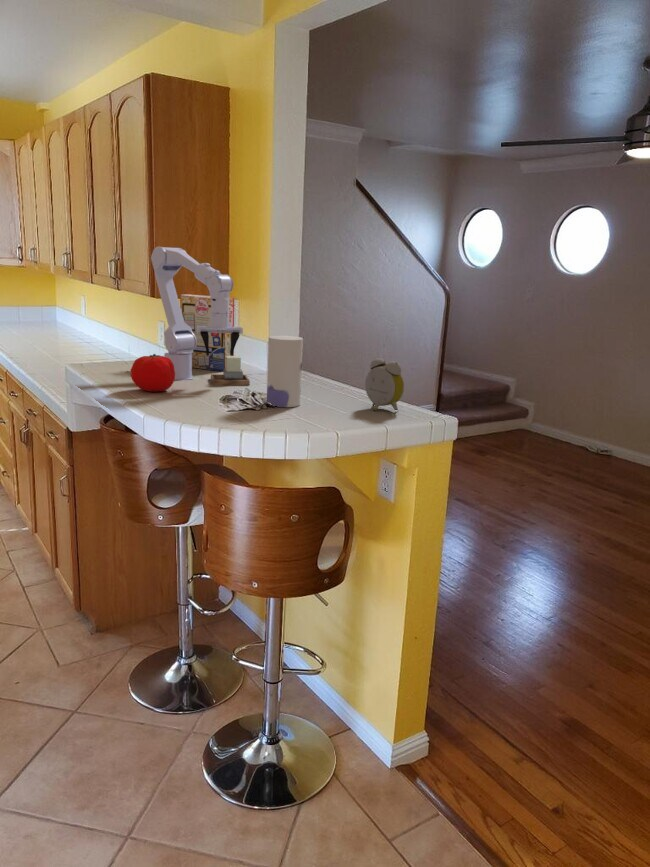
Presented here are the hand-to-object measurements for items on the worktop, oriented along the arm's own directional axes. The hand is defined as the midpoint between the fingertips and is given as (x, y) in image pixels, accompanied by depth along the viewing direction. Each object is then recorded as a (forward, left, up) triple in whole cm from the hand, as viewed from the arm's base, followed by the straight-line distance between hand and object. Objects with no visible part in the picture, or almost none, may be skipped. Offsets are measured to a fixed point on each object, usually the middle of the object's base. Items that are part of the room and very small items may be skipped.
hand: (219, 355), depth 217 cm
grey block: (+5, +6, -10) cm, 13 cm away
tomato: (-21, -7, -11) cm, 25 cm away
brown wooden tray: (+4, +6, -10) cm, 13 cm away
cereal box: (-2, +35, -11) cm, 37 cm away
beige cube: (+5, +6, -6) cm, 10 cm away
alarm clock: (+45, -34, -11) cm, 57 cm away
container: (+17, -26, -11) cm, 33 cm away
